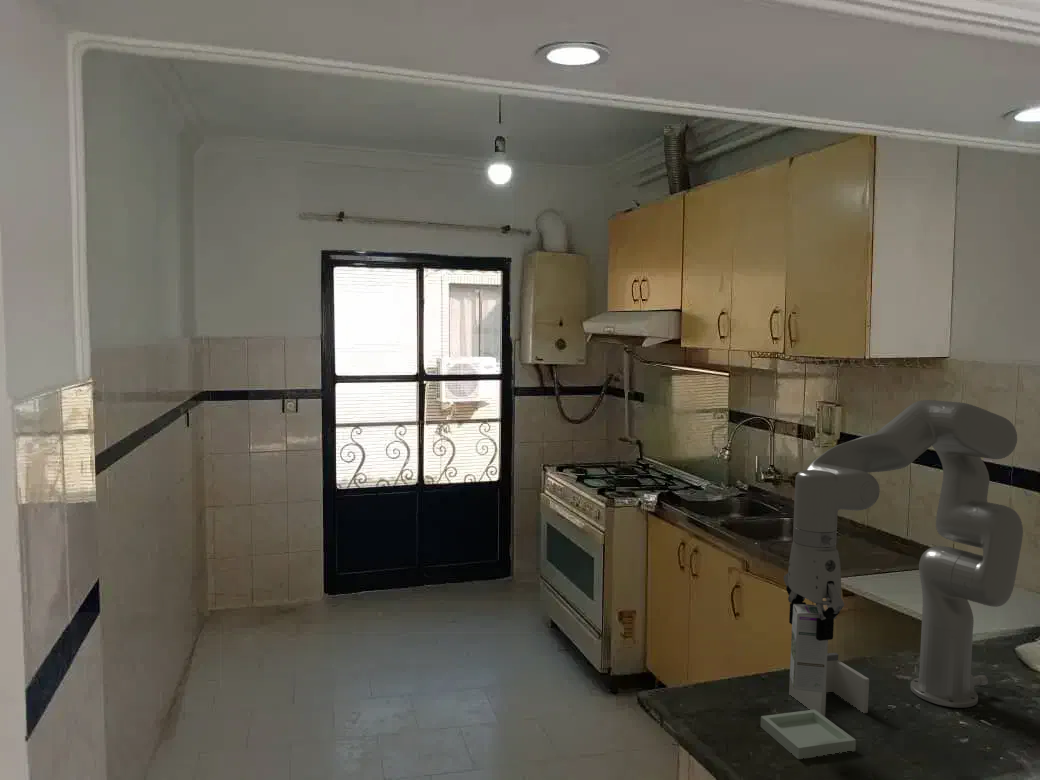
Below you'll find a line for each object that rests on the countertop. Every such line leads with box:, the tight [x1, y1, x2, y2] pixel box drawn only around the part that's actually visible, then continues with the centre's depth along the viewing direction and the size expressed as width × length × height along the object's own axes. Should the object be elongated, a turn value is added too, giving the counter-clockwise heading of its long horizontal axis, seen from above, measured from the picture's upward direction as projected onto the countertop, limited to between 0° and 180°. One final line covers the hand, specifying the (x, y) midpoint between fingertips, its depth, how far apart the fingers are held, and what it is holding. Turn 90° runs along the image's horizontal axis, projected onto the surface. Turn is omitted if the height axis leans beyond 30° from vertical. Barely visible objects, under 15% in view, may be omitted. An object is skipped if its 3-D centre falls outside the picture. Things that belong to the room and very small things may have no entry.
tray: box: [759, 709, 857, 760], centre depth 145 cm, size 12×12×2 cm
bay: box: [788, 652, 870, 718], centre depth 159 cm, size 11×10×8 cm
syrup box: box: [789, 603, 829, 693], centre depth 144 cm, size 6×6×14 cm
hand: (810, 630), depth 144 cm, fingers closed on syrup box, 7 cm apart
